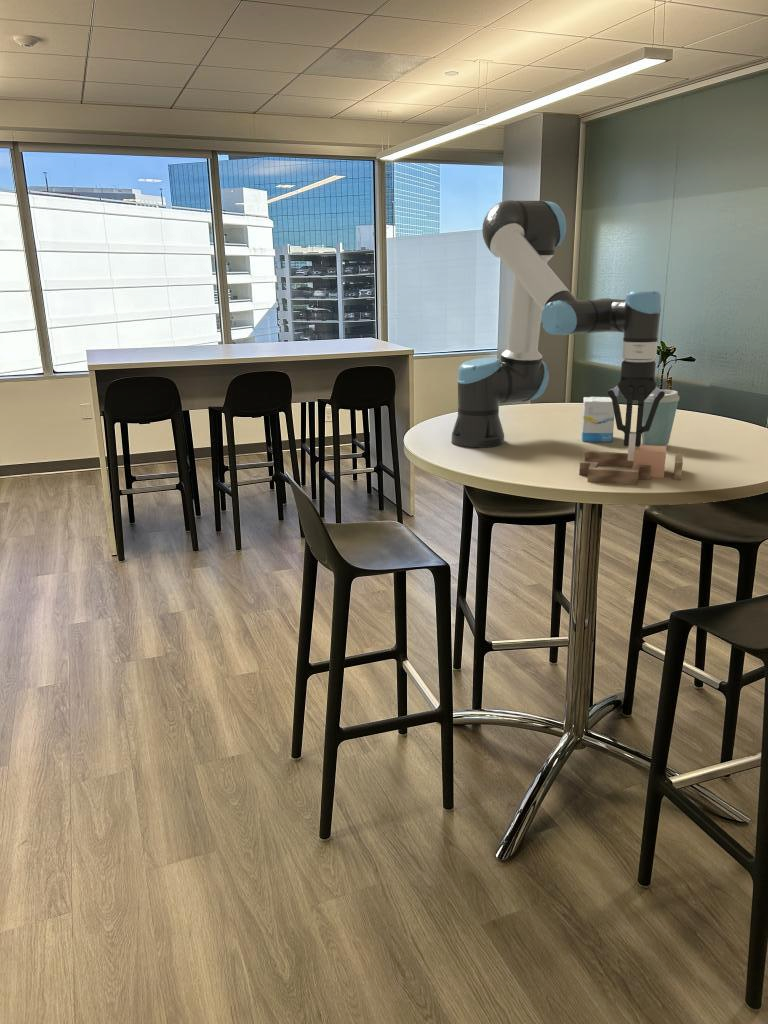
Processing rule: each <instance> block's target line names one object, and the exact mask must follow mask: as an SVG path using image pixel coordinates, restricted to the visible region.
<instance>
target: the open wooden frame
mask: <svg viewBox="0 0 768 1024" xmlns="http://www.w3.org/2000/svg"><path fill="white" fill-rule="evenodd" d="M683 456H684V455H683V453H681V452H680V453H679V452H678V453H677V452H676V453H675V458H674V469H673V471H674V472H673V473H674V474H673V480H675V481H681V480H682V475H683V463H684V462H683V461H684V460H683V459H684V458H683ZM627 460H628V452H614V451H613V452H612V451H598V450H597V451H596V450H585V453H584V461H583V460H581V461H580V462H579V473H578V475H580V476H587V482H590V483H591V482H592V483H606V484H618V485H634V486H635V485H636V486H638V485H639V480H648V481H649V480H650V481H651V477H650V473H651V466H650V465H634V464H633V461H627ZM598 465H601V466H614V467H631V469H621V468H620V469H618V468H605V467H598Z"/></svg>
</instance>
